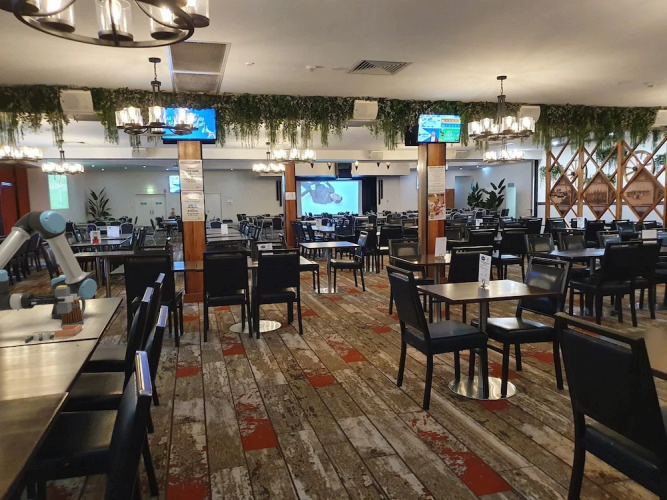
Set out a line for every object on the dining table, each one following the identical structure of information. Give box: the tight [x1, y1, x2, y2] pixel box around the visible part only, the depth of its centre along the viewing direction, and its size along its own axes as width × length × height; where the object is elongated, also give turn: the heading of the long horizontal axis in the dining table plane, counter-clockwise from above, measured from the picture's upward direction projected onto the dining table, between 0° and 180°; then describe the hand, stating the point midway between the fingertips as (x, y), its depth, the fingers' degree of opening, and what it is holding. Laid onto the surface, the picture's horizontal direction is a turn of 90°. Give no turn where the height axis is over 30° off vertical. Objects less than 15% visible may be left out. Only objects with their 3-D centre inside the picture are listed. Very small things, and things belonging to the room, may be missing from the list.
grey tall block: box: [54, 285, 72, 314], centre depth 236 cm, size 5×5×13 cm
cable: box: [24, 335, 54, 344], centre depth 230 cm, size 7×11×1 cm
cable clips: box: [34, 332, 51, 342], centre depth 231 cm, size 4×6×2 cm
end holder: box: [54, 324, 83, 337], centre depth 239 cm, size 10×9×3 cm
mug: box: [60, 297, 87, 328], centre depth 257 cm, size 16×11×15 cm
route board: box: [17, 327, 85, 343], centre depth 238 cm, size 18×24×1 cm
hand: (74, 297), depth 237 cm, fingers closed on grey tall block, 5 cm apart
